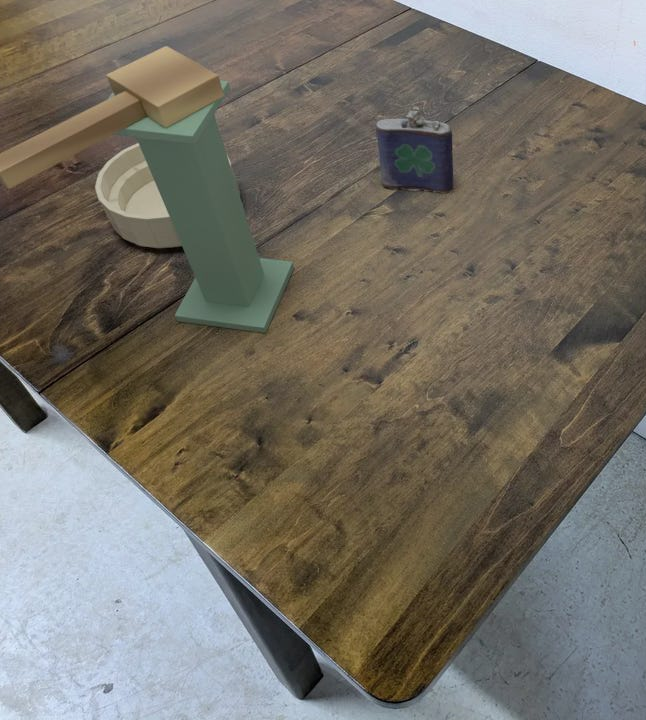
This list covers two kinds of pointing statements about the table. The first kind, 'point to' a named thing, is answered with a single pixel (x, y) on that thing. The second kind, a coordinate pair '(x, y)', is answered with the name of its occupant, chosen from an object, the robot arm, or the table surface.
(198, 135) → the pedestal stand
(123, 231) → the bowl
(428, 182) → the flask
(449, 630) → the table surface
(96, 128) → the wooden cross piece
